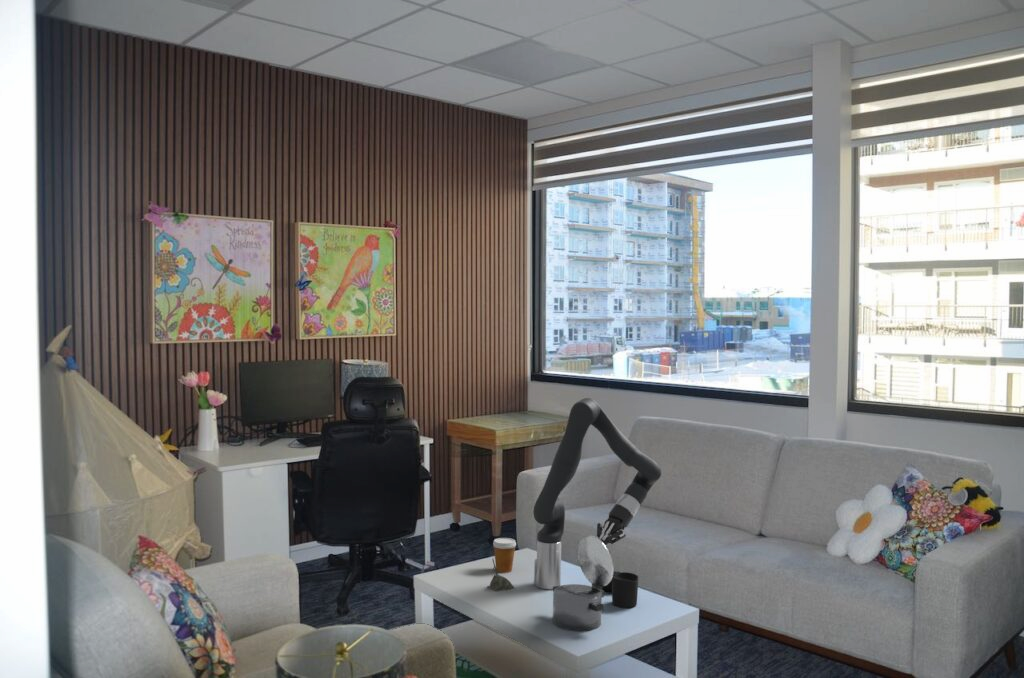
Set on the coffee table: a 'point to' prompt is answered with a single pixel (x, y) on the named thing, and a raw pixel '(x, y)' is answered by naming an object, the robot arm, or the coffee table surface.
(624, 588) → the pen holder
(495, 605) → the coffee table surface
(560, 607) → the cooker pot
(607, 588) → the digital camera
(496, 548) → the disposable coffee cup
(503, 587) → the sword in stone
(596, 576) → the cooker lid
